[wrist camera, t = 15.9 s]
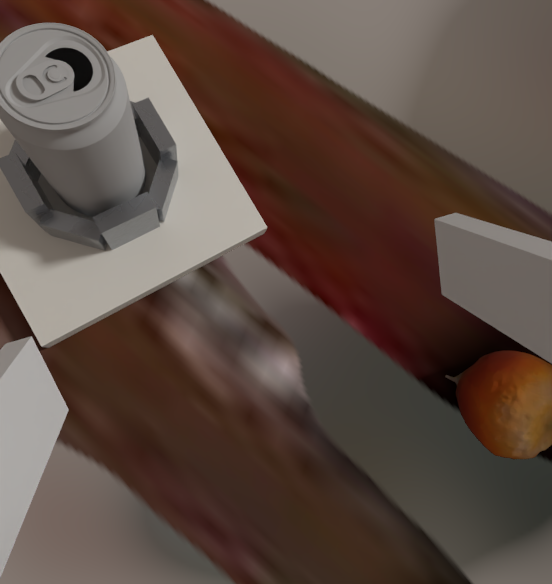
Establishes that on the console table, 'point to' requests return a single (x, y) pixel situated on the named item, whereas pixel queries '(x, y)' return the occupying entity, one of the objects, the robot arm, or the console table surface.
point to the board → (143, 250)
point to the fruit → (508, 403)
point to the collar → (118, 220)
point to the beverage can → (71, 115)
